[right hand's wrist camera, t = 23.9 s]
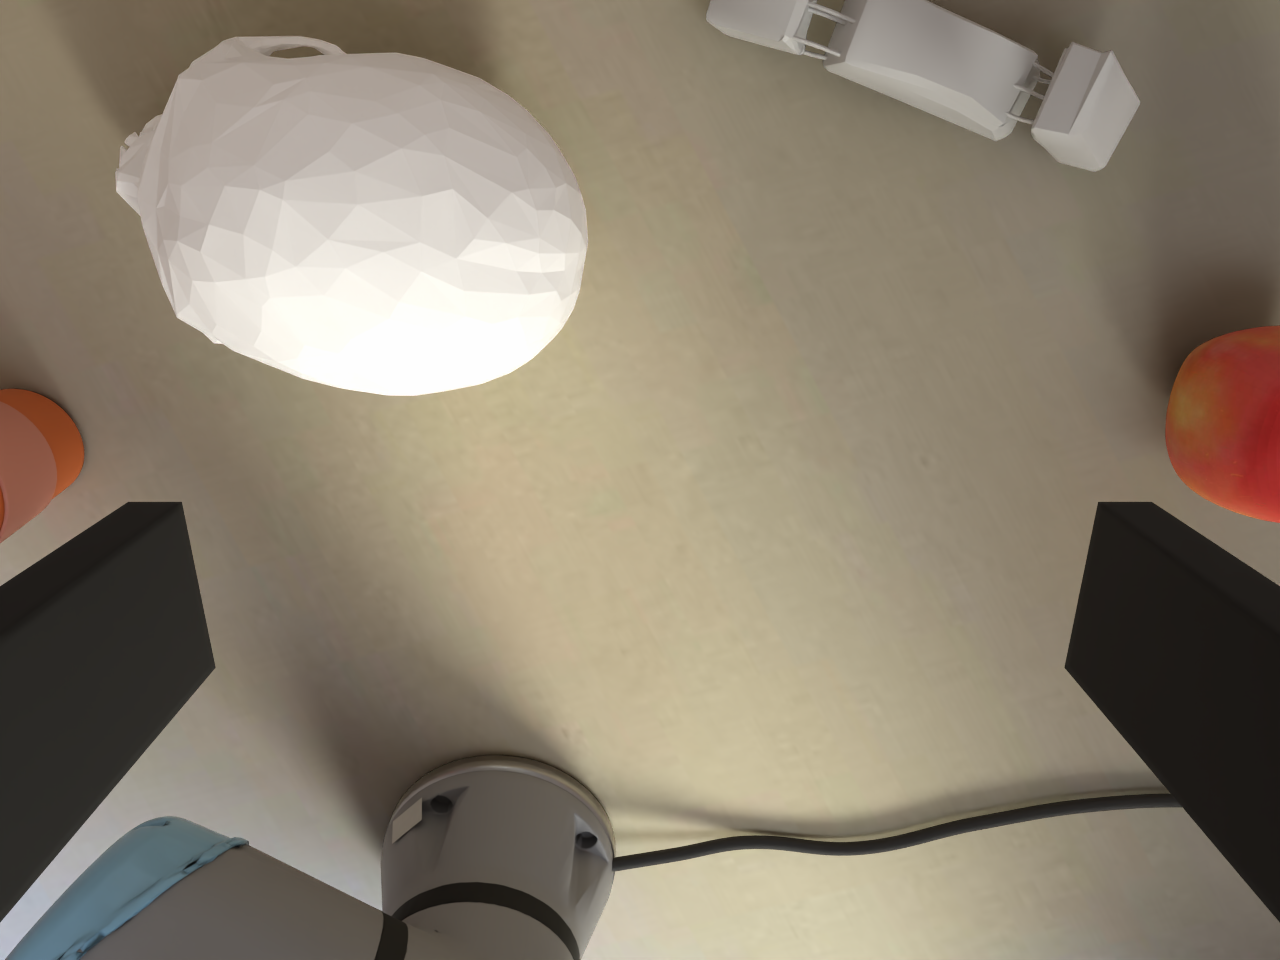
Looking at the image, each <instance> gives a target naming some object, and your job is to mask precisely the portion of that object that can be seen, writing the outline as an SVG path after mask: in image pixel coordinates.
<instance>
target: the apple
mask: <svg viewBox="0 0 1280 960" xmlns="http://www.w3.org/2000/svg"><path fill="white" fill-rule="evenodd" d="M1165 437H1166V446H1167V450H1168V454H1169V457H1170V461H1171V463H1172V465H1173V467H1174V469H1175V471H1176V473H1177V474H1178V476H1179V477H1180V478H1181V480H1182V481H1183V482H1184V483H1185V484H1186V485H1187V486H1188V487H1189V488H1190V489H1191V490H1193V491H1194V492H1196V493H1197V494H1199V495H1200V496H1202V497H1203V498H1205V499H1207V500H1209V501H1211V502H1213V503H1215V504H1216V505H1218V506H1221V507H1223V508H1226V509H1228V510H1231V511H1233V512H1236V513H1239V514H1243V515H1246V516H1249V517H1253V518H1257V519H1261V520H1266V521H1271V522H1278V523H1280V326H1265V327H1257V328H1251V329H1245V330H1239V331H1235V332H1231V333H1228V334H1225V335H1222V336H1219V337H1216V338H1213V339H1211V340H1209V341H1207V342H1205V343H1203V344H1201V345H1200V346H1198V347H1197V348H1196V349H1194V350H1193V351H1192V352H1191V353H1190V354H1189V355H1188V356H1187V358H1186V359H1185V361H1184V362H1183V364H1182V366H1181V368H1180V370H1179V372H1178V375H1177V377H1176V380H1175V382H1174V385H1173V388H1172V391H1171V395H1170V399H1169V403H1168V408H1167V415H1166V429H1165Z"/></svg>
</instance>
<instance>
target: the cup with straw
mask: <svg viewBox="0 0 1280 960" xmlns="http://www.w3.org/2000/svg"><path fill="white" fill-rule="evenodd" d="M83 461H84V446H83V442H82V438H81V435H80V433H79V431H78V429H77V427H76V425H75V423H74V422H73V421H72V419H71V418H70V417H69V415H68V414H67V413H66V412H65V411H64V410H63V409H62V408H61V407H59V406H58V405H57V404H56V403H54V402H53V401H51V400H50V399H48V398H46V397H44V396H42V395H40V394H37V393H35V392H31V391H28V390H22V389H3V390H0V543H1V542H3V541H4V540H5V539H7V538H8V537H9V536H10V535H12V534H13V533H14V532H16V531H17V530H18V529H20V528H21V527H22V526H24V525H25V524H26V523H27V522H29V521H30V520H31V519H33V518H34V517H35V516H37V515H38V514H39V513H40V512H41V511H42V510H44V509H45V508H46V506H47V505H48V504H49V502H50V501H51V499H53V498H54V497H55V496H57V495H58V494H59V493H61V492H62V491H63V490H64V489H66V488H67V487H68V486H69V485H71V484H72V483H73V482H74V481H75V479H76V478H77V477H78V475H79V473H80V471H81V469H82V466H83Z"/></svg>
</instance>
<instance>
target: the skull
mask: <svg viewBox="0 0 1280 960" xmlns="http://www.w3.org/2000/svg"><path fill="white" fill-rule="evenodd" d="M302 46H306V47H313V48H315V49H316V50H318V51H319V52H321V53H322V54H324V55H317V56H311V57H301V58H289V59H287V58H279V57H271V56H270V55H271V54H272V53H273V52H274V51H279V50H285V49H291V48H296V47H302ZM125 144H126V145H127V146H130V147H129V148H128V149H127V150H126V149H125V148H124V147H123V146H120V160H119V169H118V168H116V170H117V171H116V172H115V176H116V192H117V193H118V194H119V195H120V196H121V197H122V198H123V199H124V200H125V201H126V202H127V203H128V204H129V205H130V206H131V207H132V208H133V209H134V210H135V211H136V212H137V213H138V214H139V215H140V216H141V221H142V226H143V229H144V232H145V236H146V239H147V242H148V245H149V248H150V251H151V254H152V256H153V259H154V262H155V265H156V268H157V271H158V274H159V277H160V280H161V282H162V285H163V288H164V290H165V292H166V294H167V297H168V299H169V301H170V303H171V306H172V308H173V310H174V312H175V315H176V317H177V318H178V319H180V320H182V321H184V322H185V323H187V324H189V325H190V326H192V327H194V328H196V329H197V330H199V331H201V332H202V333H203V334H205V335H206V336H207V337H208V338H209V339H210V340H211V341H212V342H213V343H217V344H224V345H225V346H227V347H228V348H230V349H231V350H233V351H235V352H237V353H240V354H242V355H245V356H247V357H250V358H252V359H255V360H257V361H260V362H262V363H265V364H267V365H270V366H272V367H275V368H277V369H280V370H282V371H285V372H287V373H290V374H292V375H295V376H297V377H300V378H302V379H306V380H310V381H314V382H318V383H322V384H326V385H329V386H333V387H338V388H343V389H349V390H355V391H362V392H368V393H375V394H382V395H403V396H416V395H422V394H429V393H436V392H443V391H448V390H453V389H458V388H464V387H469V386H474V385H479V384H482V383H485V382H488V381H490V380H493V379H496V378H498V377H501V376H504V375H507V374H509V373H511V372H512V371H514V370H515V369H517V368H519V367H520V366H522V365H523V364H525V363H527V362H528V361H530V360H531V359H533V358H534V357H535V356H536V355H537V354H538V353H539V352H540V351H541V350H542V349H543V348H544V347H545V346H546V345H547V344H548V343H549V342H550V341H551V340H552V339H553V338H554V337H555V336H556V335H557V334H558V333H559V331H560V330H561V329H562V328H563V326H564V325H565V323H566V321H567V319H568V318H569V316H570V314H571V312H572V311H573V309H574V307H575V304H576V300H577V297H578V294H579V291H580V286H581V280H582V274H583V268H584V262H585V257H586V251H587V246H588V232H587V218H586V209H585V205H584V202H583V198H582V194H581V191H580V189H579V186H578V183H577V180H576V177H575V175H574V173H573V171H572V170H571V168H570V166H569V164H568V163H567V161H566V159H565V157H564V156H563V154H562V152H561V151H560V149H559V148H558V146H557V145H556V143H555V142H554V140H553V139H552V137H551V136H550V134H549V133H548V132H547V131H546V130H545V129H544V128H543V127H542V126H541V125H540V123H539V122H538V121H537V120H536V119H535V118H534V117H533V116H532V115H531V114H530V113H529V112H528V111H527V110H526V109H525V108H524V107H523V106H521V105H520V104H519V103H518V102H517V101H515V100H514V99H513V98H512V97H511V96H509V95H508V94H506V93H504V92H503V91H501V90H499V89H498V88H496V87H494V86H493V85H491V84H489V83H488V82H486V81H484V80H482V79H481V78H479V77H476V76H473V75H471V74H468V73H465V72H462V71H459V70H457V69H454V68H451V67H448V66H445V65H443V64H440V63H437V62H434V61H431V60H428V59H425V58H422V57H416V56H411V55H406V54H401V53H363V54H346V53H345V52H343V51H342V50H341V49H340V48H339V47H338V46H336V45H334V44H331V43H329V42H326V41H323V40H320V39H315V38H309V37H303V36H257V37H233V38H230V39H227V40H224V41H222V42H221V43H219V44H218V45H217V46H216V47H214V48H213V49H211V50H210V51H208V52H207V53H205V54H203V55H202V56H200V57H199V58H197V59H196V60H194V61H193V62H192V63H191V65H190V66H189V68H188V69H186V70H185V71H183V72H182V73H181V74H179V75H178V79H177V81H176V83H175V86H174V88H173V90H172V93H171V95H170V97H169V100H168V102H167V104H166V107H165V109H164V111H163V114H162V115H158V116H156V117H154V118H153V119H152V120H150V121H149V122H148V123H147V124H146V125H145V127H144V128H143V130H142V132H140V135H139V137H138V135H137V134H136V132H134V133H132V134H131V135H129V136H128V137H127V138H126V140H125Z"/></svg>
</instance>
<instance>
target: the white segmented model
mask: <svg viewBox="0 0 1280 960" xmlns="http://www.w3.org/2000/svg"><path fill="white" fill-rule="evenodd" d="M816 2H817V0H711V1H710V4H709V7H708V11H707V14H706V20H707V22H708V23H710V24H711V25H712V26H714V27H715V28H717V29H718V30H719V31H721V32H722V33H724V34H725V35H727V36H730V37H734V38H737V39H741V40H745V41H748V42H752V43H756V44H759V45H763V46H767V47H770V48H774V49H778V50H782V51H785V52H789V53H793V54H797V55H802V54H804V55H807V56H810V57H814V58H819V59H823V66H824V67H825V68H826V69H827V70H828V71H829V72H831V73H834V74H836V75H839V76H841V77H844V78H846V79H848V80H851V81H853V82H856V83H858V84H860V85H863V86H865V87H868V88H870V89H873V90H875V91H877V92H880V93H882V94H885V95H887V96H889V97H892V98H894V99H897V100H899V101H901V102H904V103H906V104H908V105H911V106H913V107H915V108H918V109H920V110H923V111H925V112H927V113H930V114H932V115H934V116H937V117H939V118H942V119H944V120H946V121H949V122H951V123H954V124H956V125H958V126H961V127H963V128H965V129H968V130H970V131H973V132H975V133H977V134H980V135H982V136H984V137H987V138H989V139H992V140H994V141H997V140H1000V139H1003V138H1005V137H1006V136H1008V135H1009V134H1011V133H1012V131H1013V129H1014V127H1015V125H1016V123H1017V121H1020V122H1024V123H1028V124H1032V127H1031V135H1032V137H1033V139H1034V140H1036V141H1037V142H1038V143H1039V144H1040V145H1042V146H1043V147H1044V148H1045V149H1046V150H1047V151H1048V152H1049V153H1050V154H1051V155H1052V156H1053V158H1054V159H1055V160H1056V161H1058V162H1060V163H1063V164H1066V165H1070V166H1074V167H1078V168H1082V169H1086V170H1090V171H1093V172H1095V171H1098V170H1100V169H1102V168H1104V167H1105V166H1106V165H1107V163H1108V161H1109V159H1110V157H1111V156H1112V154H1113V152H1114V150H1115V148H1116V147H1117V145H1118V143H1119V141H1120V139H1121V138H1122V136H1123V134H1124V132H1125V130H1126V129H1127V127H1128V125H1129V123H1130V121H1131V119H1132V118H1133V116H1134V114H1135V112H1136V110H1137V109H1138V107H1139V105H1140V101H1139V98H1138V96H1137V94H1136V92H1135V91H1134V89H1133V88H1132V86H1131V84H1130V83H1129V81H1128V79H1127V78H1126V76H1125V74H1124V72H1123V70H1122V68H1121V66H1120V64H1119V62H1118V60H1117V58H1116V56H1115V54H1114V52H1113V50H1111V51H1106V52H1100V51H1097V50H1095V49H1092V48H1089V47H1086V46H1083V45H1081V44H1078V43H1075V42H1072V43H1071V44H1070V46H1069V48H1065V49H1064V51H1063V53H1062V56H1061V58H1060V60H1059V63H1058V65H1057V68H1056V70H1055V72H1054V73H1053V72H1052V71H1050V70H1048V69H1046V68H1045V67H1043V66H1041V65H1039V61H1038V59H1037V58H1038V55H1037V54H1036V53H1035V52H1034V51H1033V50H1031V49H1029V48H1027V47H1025V46H1023V45H1021V44H1019V43H1017V42H1015V41H1013V40H1011V39H1009V38H1007V37H1005V36H1003V35H1001V34H999V33H997V32H995V31H993V30H991V29H989V28H986V27H984V26H982V25H980V24H978V23H975V22H973V21H971V20H969V19H967V18H964V17H962V16H960V15H958V14H955V13H953V12H951V11H949V10H947V9H944V8H942V7H940V6H938V5H936V4H934V3H932V2H930V1H928V0H845V1H844V4H843V7H842V9H841V12H840V13H839V12H837V11H835V10H833V9H831V8H828V7H825V6H822V5H819V4H816ZM826 12H827V13H826ZM813 13H814V14H817V15H820V16H823V17H826V18H828V19H830V20H833V21H835V22H837V23H836V25H835V28H834V31H833V34H832V36H831V39H830V42H829V44H828V47H826V46H823V45H821V44H818V43H815V42H813V41H810V40H807V39H806V35H807V31H808V28H809V24H810V21H811V18H812V15H813ZM829 13H830V14H829ZM831 14H832V15H831ZM806 45H809V46H812V47H815V48H818V49H820V50H823V51H825V55H822V54H817V53H813V52H810V51H807V50H805V46H806ZM1040 71H1041V72H1043V73H1045V74H1047V75H1048V76H1050V77H1052V79H1051V80H1047V79H1043V78H1040ZM1037 82H1041V83H1044V84H1049V87H1048V89H1047V91H1046V94H1045V96H1044V95H1042V94H1040V93H1037V92H1035V91H1033V90H1034V88H1035V86H1036V84H1037ZM1030 95H1032V96H1035V97H1037V98H1039V99H1041V100H1043V101H1042V103H1041V106H1040V108H1039V111H1038V113H1037V115H1036V118H1035V120H1031V119H1027V118H1023V117H1020V115H1021V113H1022V111H1023V109H1024V107H1025V105H1026V103H1027V101H1028V99H1029V97H1030Z"/></svg>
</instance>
